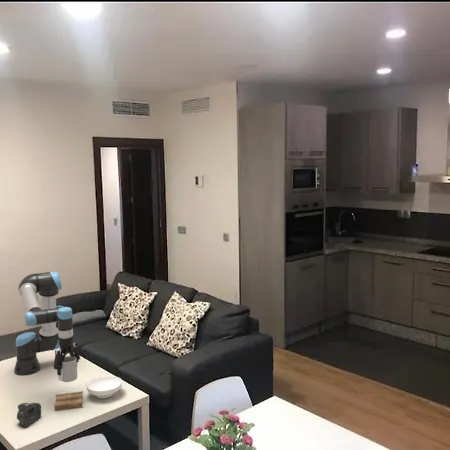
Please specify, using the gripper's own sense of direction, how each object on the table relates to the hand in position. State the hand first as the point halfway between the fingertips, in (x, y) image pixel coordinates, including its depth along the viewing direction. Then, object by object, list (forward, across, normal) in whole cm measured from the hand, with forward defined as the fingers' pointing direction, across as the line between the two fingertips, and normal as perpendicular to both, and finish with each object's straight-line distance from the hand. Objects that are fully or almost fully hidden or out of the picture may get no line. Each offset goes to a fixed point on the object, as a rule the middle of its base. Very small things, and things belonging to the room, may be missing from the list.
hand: (67, 376), depth 260 cm
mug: (+1, +1, 0) cm, 1 cm away
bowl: (+15, +16, -10) cm, 25 cm away
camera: (+15, -23, +3) cm, 28 cm away
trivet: (+15, 0, 0) cm, 15 cm away
